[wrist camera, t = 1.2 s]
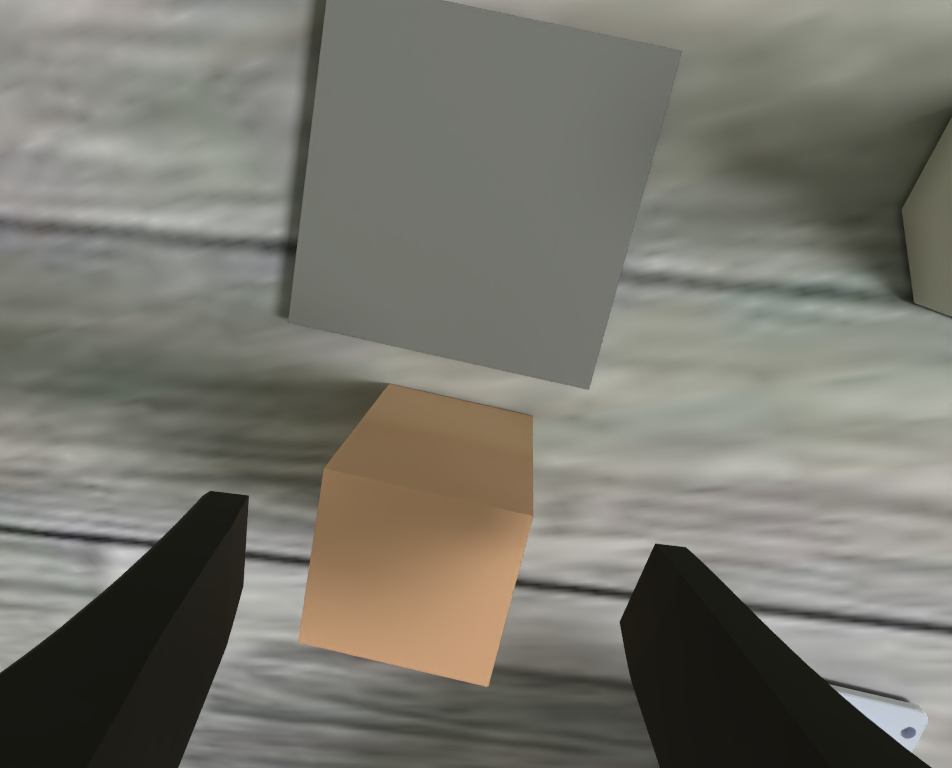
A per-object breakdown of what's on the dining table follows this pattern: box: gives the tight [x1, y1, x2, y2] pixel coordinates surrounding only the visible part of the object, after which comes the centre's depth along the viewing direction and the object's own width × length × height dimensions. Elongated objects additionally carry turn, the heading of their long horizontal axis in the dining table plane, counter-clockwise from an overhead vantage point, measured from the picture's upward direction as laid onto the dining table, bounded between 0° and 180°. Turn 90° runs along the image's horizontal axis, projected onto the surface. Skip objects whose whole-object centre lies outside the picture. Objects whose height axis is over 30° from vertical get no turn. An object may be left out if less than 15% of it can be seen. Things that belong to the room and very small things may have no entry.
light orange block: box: [298, 384, 533, 687], centre depth 19 cm, size 5×5×7 cm
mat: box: [288, 0, 682, 390], centre depth 19 cm, size 10×10×1 cm
